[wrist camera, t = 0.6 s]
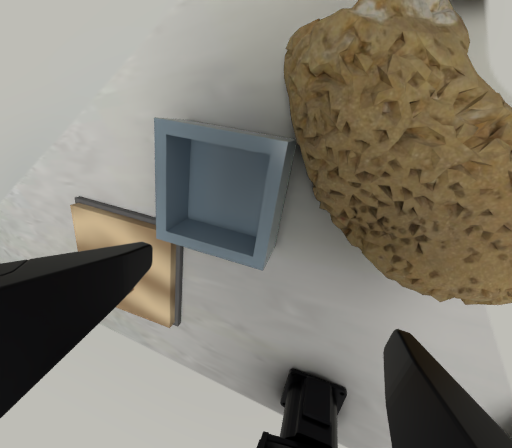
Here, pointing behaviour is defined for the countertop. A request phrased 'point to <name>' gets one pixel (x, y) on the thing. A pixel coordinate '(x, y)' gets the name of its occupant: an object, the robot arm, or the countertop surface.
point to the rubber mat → (153, 221)
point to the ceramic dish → (220, 188)
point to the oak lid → (125, 232)
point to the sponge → (407, 145)
